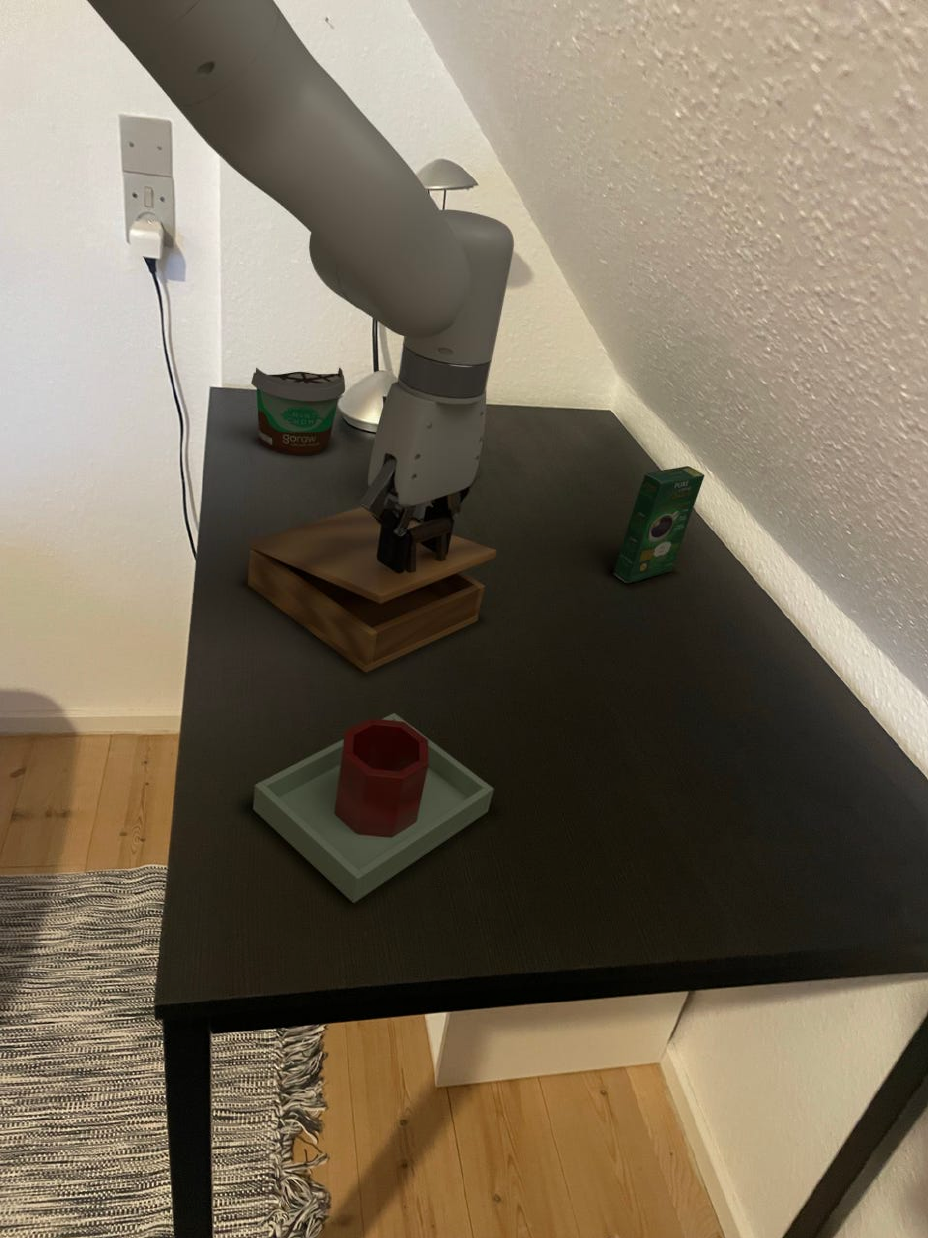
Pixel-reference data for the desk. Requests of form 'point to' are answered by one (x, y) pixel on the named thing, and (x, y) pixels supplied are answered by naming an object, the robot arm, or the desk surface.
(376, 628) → the chest
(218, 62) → the robot arm
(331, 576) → the lid
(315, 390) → the food container
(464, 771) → the tray
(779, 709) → the desk surface
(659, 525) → the coffee box
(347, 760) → the red octagonal tube
